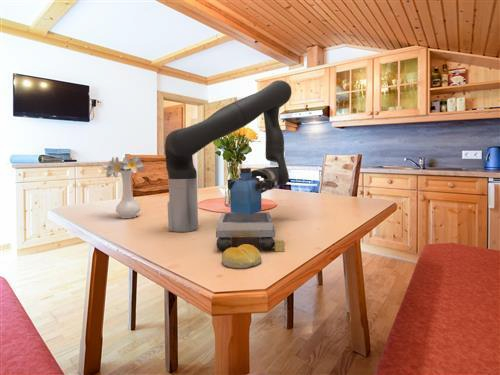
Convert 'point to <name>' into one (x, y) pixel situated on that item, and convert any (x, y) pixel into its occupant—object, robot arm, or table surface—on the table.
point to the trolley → (247, 230)
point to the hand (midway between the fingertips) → (242, 186)
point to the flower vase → (125, 183)
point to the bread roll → (241, 256)
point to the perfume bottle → (245, 194)
